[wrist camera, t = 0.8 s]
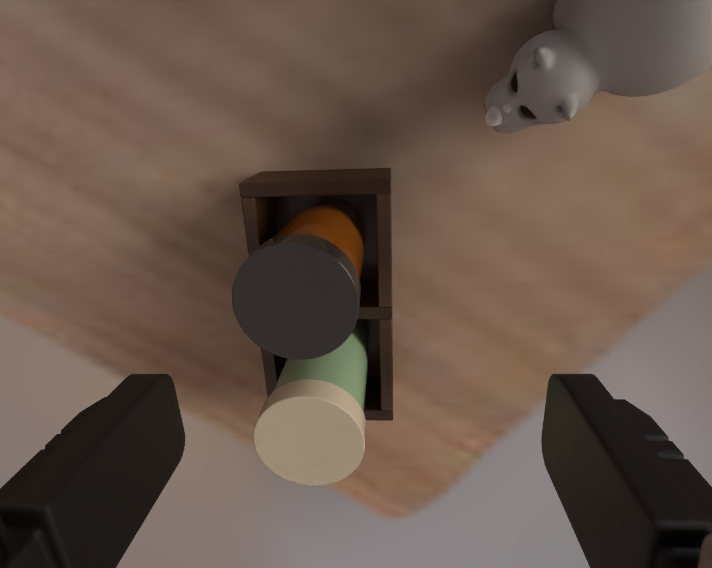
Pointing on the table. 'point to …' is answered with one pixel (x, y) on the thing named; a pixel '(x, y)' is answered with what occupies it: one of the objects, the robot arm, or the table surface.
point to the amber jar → (304, 282)
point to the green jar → (317, 415)
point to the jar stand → (373, 202)
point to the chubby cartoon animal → (601, 58)
